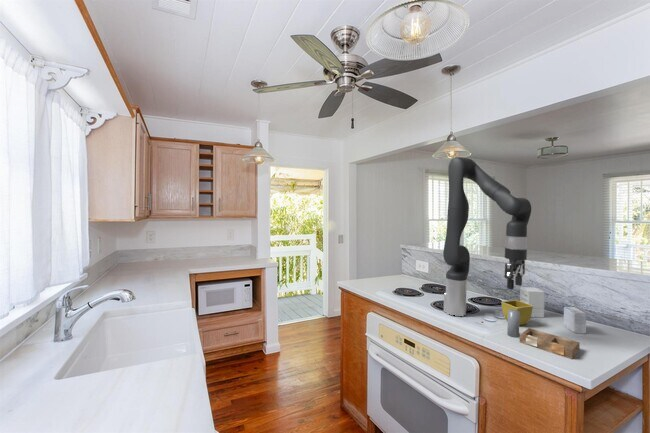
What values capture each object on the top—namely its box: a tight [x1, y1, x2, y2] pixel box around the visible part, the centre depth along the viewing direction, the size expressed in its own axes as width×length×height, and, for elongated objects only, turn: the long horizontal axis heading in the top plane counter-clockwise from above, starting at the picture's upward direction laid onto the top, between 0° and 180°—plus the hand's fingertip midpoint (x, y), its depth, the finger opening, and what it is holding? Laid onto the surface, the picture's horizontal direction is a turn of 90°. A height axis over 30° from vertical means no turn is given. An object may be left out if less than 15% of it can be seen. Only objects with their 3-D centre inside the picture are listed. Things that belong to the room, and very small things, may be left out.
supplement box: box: [519, 286, 546, 318], centre depth 145 cm, size 7×7×13 cm
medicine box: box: [563, 306, 587, 335], centre depth 128 cm, size 8×4×9 cm, turn 168°
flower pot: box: [500, 299, 533, 326], centre depth 135 cm, size 9×9×9 cm
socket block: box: [519, 327, 580, 360], centre depth 113 cm, size 16×10×3 cm, turn 39°
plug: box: [506, 309, 520, 338], centre depth 122 cm, size 4×4×10 cm
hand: (514, 287), depth 122 cm, fingers open, 8 cm apart
